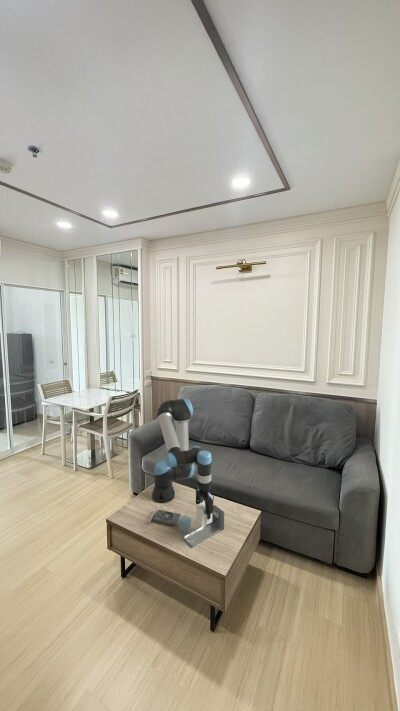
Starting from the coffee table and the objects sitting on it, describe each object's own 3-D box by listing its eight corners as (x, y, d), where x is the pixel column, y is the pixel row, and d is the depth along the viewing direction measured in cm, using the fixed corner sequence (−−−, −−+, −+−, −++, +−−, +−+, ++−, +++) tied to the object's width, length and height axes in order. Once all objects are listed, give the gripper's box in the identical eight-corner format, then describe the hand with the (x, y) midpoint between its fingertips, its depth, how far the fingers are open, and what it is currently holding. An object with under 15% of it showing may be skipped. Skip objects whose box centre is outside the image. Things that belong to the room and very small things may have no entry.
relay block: (178, 529, 162) (178, 519, 161) (184, 524, 166) (184, 514, 165) (185, 533, 159) (185, 522, 158) (191, 527, 163) (191, 518, 162)
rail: (183, 538, 155) (183, 520, 153) (214, 521, 168) (214, 504, 167) (192, 547, 148) (192, 528, 147) (223, 529, 162) (224, 512, 161)
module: (196, 522, 157) (196, 504, 156) (206, 517, 161) (206, 500, 160) (202, 527, 153) (202, 509, 152) (212, 521, 157) (212, 504, 156)
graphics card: (147, 520, 165) (155, 506, 176) (147, 526, 165) (155, 512, 177) (174, 525, 160) (181, 512, 172) (174, 532, 161) (181, 517, 172)
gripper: (188, 475, 160) (189, 515, 162) (209, 490, 145) (209, 533, 148) (199, 471, 164) (199, 509, 167) (220, 485, 150) (220, 526, 152)
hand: (204, 520), depth 157 cm, fingers closed on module, 5 cm apart
